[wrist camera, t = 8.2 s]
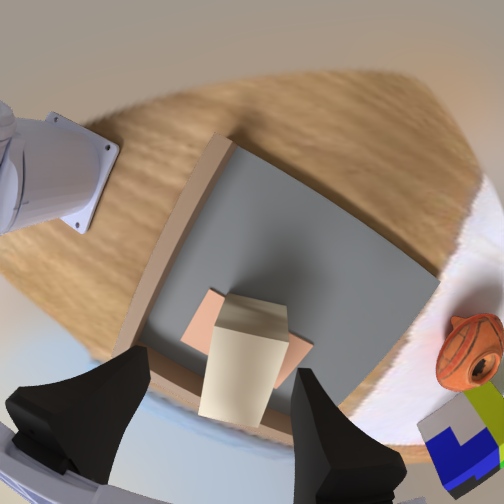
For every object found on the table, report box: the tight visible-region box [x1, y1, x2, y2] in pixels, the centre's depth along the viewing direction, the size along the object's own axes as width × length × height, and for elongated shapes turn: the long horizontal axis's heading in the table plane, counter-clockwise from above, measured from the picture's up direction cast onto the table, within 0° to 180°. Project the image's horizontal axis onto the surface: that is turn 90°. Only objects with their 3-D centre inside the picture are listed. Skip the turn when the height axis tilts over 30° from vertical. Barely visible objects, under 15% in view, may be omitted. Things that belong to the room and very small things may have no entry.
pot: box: [436, 313, 504, 391], centre depth 19 cm, size 8×8×7 cm
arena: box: [111, 132, 440, 445], centre depth 21 cm, size 20×19×3 cm
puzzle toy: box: [417, 380, 504, 500], centre depth 20 cm, size 10×10×10 cm
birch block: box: [198, 292, 289, 428], centre depth 19 cm, size 4×8×5 cm, turn 167°
